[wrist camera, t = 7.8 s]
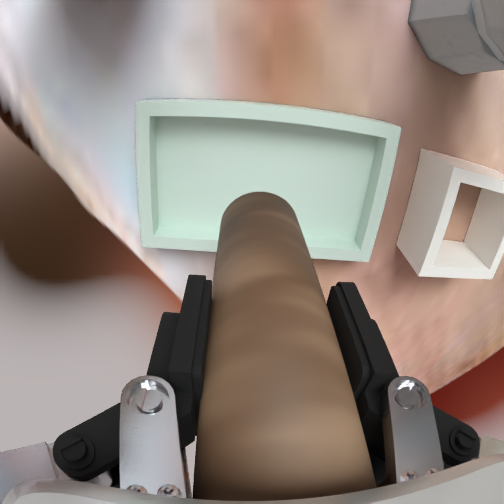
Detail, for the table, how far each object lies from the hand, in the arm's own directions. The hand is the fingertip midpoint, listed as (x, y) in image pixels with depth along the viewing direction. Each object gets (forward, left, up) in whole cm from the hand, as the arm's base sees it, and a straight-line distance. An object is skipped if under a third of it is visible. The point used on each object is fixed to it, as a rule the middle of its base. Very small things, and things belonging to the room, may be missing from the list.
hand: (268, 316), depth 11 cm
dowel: (0, 0, -7) cm, 7 cm away
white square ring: (-17, 0, -15) cm, 23 cm away
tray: (0, 0, -15) cm, 15 cm away
